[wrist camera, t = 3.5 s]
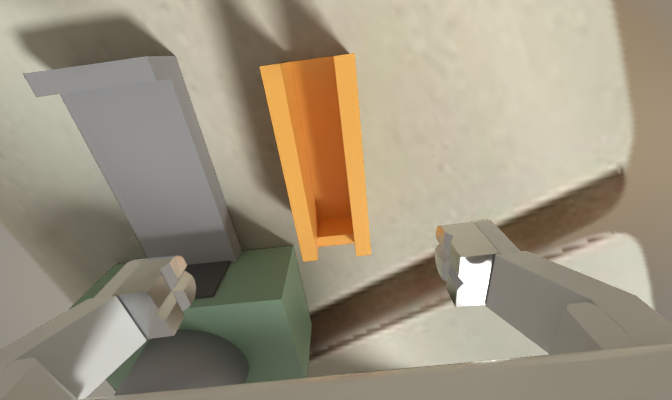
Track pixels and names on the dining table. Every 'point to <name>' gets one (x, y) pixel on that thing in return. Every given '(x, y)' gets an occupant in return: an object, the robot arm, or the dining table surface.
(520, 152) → the dining table surface
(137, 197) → the green coffee machine
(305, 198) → the chute
